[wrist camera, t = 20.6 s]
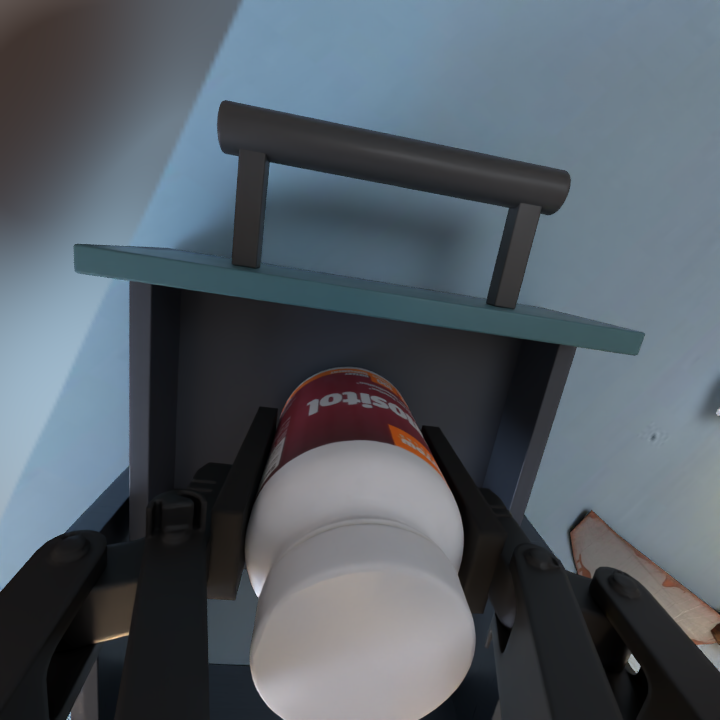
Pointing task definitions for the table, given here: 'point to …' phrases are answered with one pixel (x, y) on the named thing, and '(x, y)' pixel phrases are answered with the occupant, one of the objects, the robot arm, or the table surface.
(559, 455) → the table surface
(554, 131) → the table surface
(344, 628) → the pill bottle
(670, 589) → the kitchen knife
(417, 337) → the drawer
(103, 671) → the drawer housing
